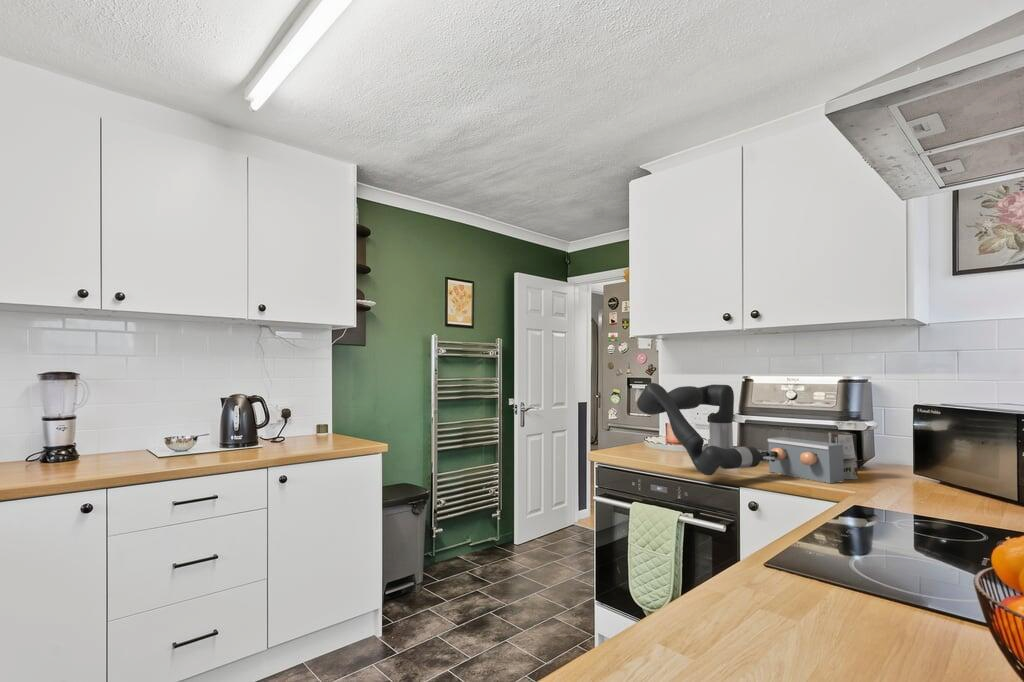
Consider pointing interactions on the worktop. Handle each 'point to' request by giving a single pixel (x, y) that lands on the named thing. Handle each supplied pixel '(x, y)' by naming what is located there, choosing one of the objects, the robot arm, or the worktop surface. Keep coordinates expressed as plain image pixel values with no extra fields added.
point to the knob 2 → (808, 458)
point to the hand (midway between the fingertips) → (775, 454)
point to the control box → (823, 470)
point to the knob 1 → (780, 453)
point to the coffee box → (847, 452)
